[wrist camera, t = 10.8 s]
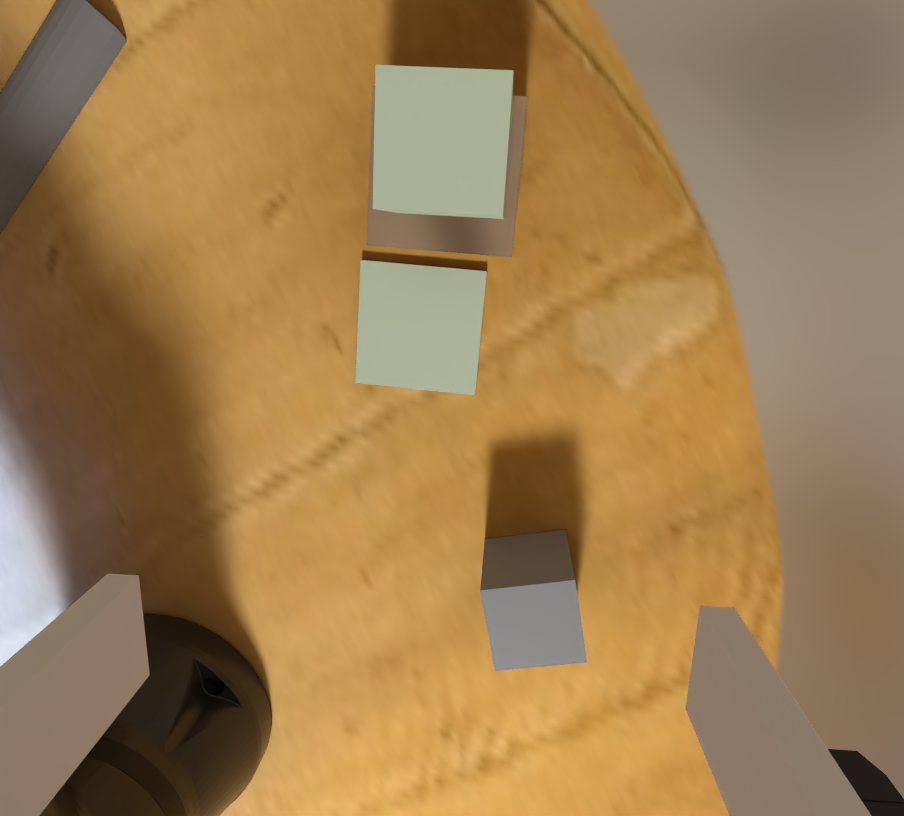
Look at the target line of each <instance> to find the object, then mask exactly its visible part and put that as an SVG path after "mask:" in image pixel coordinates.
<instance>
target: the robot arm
mask: <svg viewBox="0 0 904 816" xmlns="http://www.w3.org/2000/svg"><path fill="white" fill-rule="evenodd" d="M686 711H687V713H688V715H689V718H690V720H691V723H692V725H693V727H694V730H695V732H696V735H697V737H698V740H699V742H700V744H701V747H702V749H703V752H704V754H705V756H706V759H707V761H708V764H709V766H710V769H711V771H712V773H713V776H714V778H715V781H716V783H717V785H718V788H719V790H720V793H721V795H722V798H723V800H724V802H725V805H726V807H727V810H728V812H729V814H730V816H904V799H903V798H902V796H901V795H900V794H899V792H898V791H897V790H896V788H895V787H894V785H893V784H892V783H891V782H890V780H889V779H888V777H887V776H886V775H885V774H884V773H883V772H882V771H880V770H879V769H878V768H877V767H876V766H874V765H873V764H872V763H871V762H870V761H868V760H867V759H866V758H865V757H863V756H862V755H861V754H860V753H859V752H857V751H848V750H833V749H827V748H826V746H825V745H824V743H823V741H822V740H821V738H820V737H819V736H818V734H817V732H816V731H815V729H814V728H813V726H812V725H811V723H810V722H809V720H808V719H807V718H806V716H805V714H804V713H803V711H802V710H801V708H800V707H799V705H798V704H797V702H796V701H795V699H794V697H793V696H792V694H791V693H790V691H789V690H788V689H787V687H786V685H785V684H784V682H783V681H782V679H781V678H780V676H779V675H778V673H777V672H776V670H775V669H774V667H773V666H772V664H771V663H770V661H769V660H768V658H767V657H766V655H765V653H764V652H763V650H762V649H761V647H760V646H759V644H758V643H757V641H756V640H755V638H754V637H753V635H752V634H751V632H750V631H749V629H748V628H747V626H746V625H745V623H744V622H743V620H742V619H741V617H740V616H739V614H738V613H737V611H736V610H735V608H729V607H711V606H700V610H699V617H698V624H697V631H696V638H695V645H694V653H693V660H692V667H691V674H690V681H689V688H688V696H687V703H686ZM270 733H271V712H270V706H269V702H268V699H267V695H266V693H265V690H264V688H263V686H262V684H261V682H260V680H259V678H258V676H257V675H256V673H255V672H254V670H253V669H252V667H251V666H250V665H249V663H248V662H247V661H246V660H245V659H244V658H243V656H242V655H241V654H240V653H239V652H238V651H237V650H235V649H234V648H233V647H232V646H231V645H230V644H228V643H227V642H226V641H224V640H223V639H222V638H220V637H219V636H217V635H215V634H214V633H212V632H210V631H209V630H207V629H205V628H203V627H201V626H198V625H196V624H194V623H191V622H188V621H185V620H182V619H178V618H174V617H169V616H163V615H148V614H145V615H143V610H142V601H141V591H140V582H139V575H123V574H106V575H105V576H104V577H103V578H102V579H101V580H100V581H98V582H97V583H96V584H95V585H94V586H93V587H92V588H90V589H89V590H88V591H87V592H86V593H85V594H83V595H82V596H81V597H80V598H79V599H78V600H77V601H75V602H74V603H73V604H72V605H71V606H70V607H69V608H67V609H66V610H65V611H64V612H63V613H62V614H60V615H59V616H58V617H57V618H56V619H55V620H54V621H52V622H51V623H50V624H49V625H48V626H47V627H46V628H44V629H43V630H42V631H41V632H40V633H39V634H37V635H36V636H35V637H34V638H33V639H32V640H31V641H29V642H28V643H27V644H26V645H25V646H24V647H23V648H21V649H20V650H19V651H18V652H17V653H16V654H14V655H13V656H12V657H11V658H10V659H9V660H8V661H6V662H5V663H4V664H3V665H2V666H1V667H0V816H220V815H221V814H222V813H223V811H224V810H225V809H226V808H227V807H228V806H229V805H230V804H231V803H232V802H233V801H234V800H236V799H237V798H238V797H239V795H240V794H241V793H242V792H243V791H244V790H245V788H246V787H247V785H248V784H249V783H250V781H251V780H252V778H253V776H254V774H255V772H256V770H257V768H258V766H259V764H260V761H261V759H262V757H263V755H264V753H265V751H266V749H267V746H268V743H269V738H270Z"/></svg>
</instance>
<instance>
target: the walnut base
mask: <svg viewBox="0 0 904 816" xmlns="http://www.w3.org/2000/svg"><path fill="white" fill-rule="evenodd" d="M527 101H528V96H514V95H513V108H512V122H511V135H510V149H509V162H508V176H507V189H506V202H505V216H504V219H494V218H476V217H458V216H441V215H423V214H405V213H395V212H389V211H383V210H377V209H373V166H374V119H375V86H373V101H372V126H371V151H370V176H369V202H368V227H367V245H371V246H383V247H395V248H407V249H419V250H431V251H443V252H456V253H468V254H480V255H492V256H504V257H512V251H513V241H514V231H515V221H516V211H517V201H518V191H519V181H520V171H521V161H522V151H523V141H524V131H525V121H526V111H527Z"/></svg>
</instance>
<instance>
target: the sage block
mask: <svg viewBox="0 0 904 816" xmlns="http://www.w3.org/2000/svg"><path fill="white" fill-rule="evenodd" d="M513 75H514V70H493V69H469V68H444V67H419V66H394V65H376V72H375V119H374V166H373V209H377V210H383V211H389V212H395V213H405V214H423V215H441V216H458V217H476V218H494V219H504V216H505V202H506V189H507V176H508V162H509V149H510V135H511V122H512V108H513Z"/></svg>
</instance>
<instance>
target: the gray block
mask: <svg viewBox="0 0 904 816" xmlns="http://www.w3.org/2000/svg"><path fill="white" fill-rule="evenodd" d="M480 591H481V596H482V601H483V607H484V612H485V618H486V623H487V629H488V634H489V639H490V645H491V650H492V656H493V661H494V667H495V671H499V670H510V669H520V668H531V667H542V666H553V665H564V664H574V663H585V662H587V659H586V652H585V645H584V638H583V631H582V624H581V617H580V610H579V603H578V596H577V589H576V582H575V576H574V571H573V565H572V560H571V555H570V549H569V544H568V538H567V533H566V529H564V530H556V531H548V532H539V533H531V534H523V535H514V536H506V537H498V538H489V539H485V544H484V555H483V567H482V579H481V590H480Z"/></svg>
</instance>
